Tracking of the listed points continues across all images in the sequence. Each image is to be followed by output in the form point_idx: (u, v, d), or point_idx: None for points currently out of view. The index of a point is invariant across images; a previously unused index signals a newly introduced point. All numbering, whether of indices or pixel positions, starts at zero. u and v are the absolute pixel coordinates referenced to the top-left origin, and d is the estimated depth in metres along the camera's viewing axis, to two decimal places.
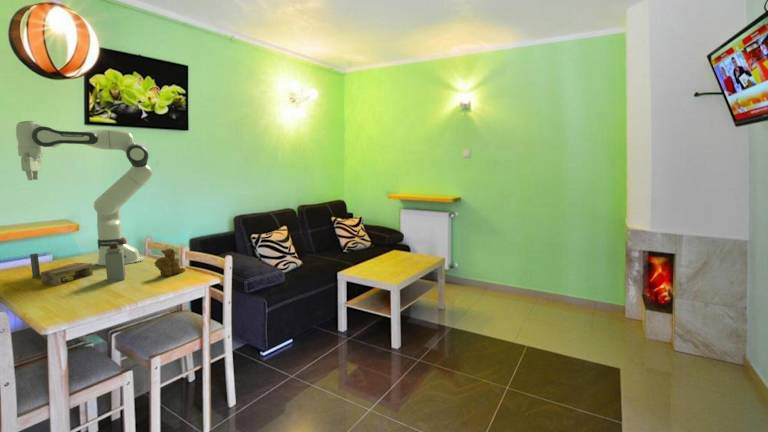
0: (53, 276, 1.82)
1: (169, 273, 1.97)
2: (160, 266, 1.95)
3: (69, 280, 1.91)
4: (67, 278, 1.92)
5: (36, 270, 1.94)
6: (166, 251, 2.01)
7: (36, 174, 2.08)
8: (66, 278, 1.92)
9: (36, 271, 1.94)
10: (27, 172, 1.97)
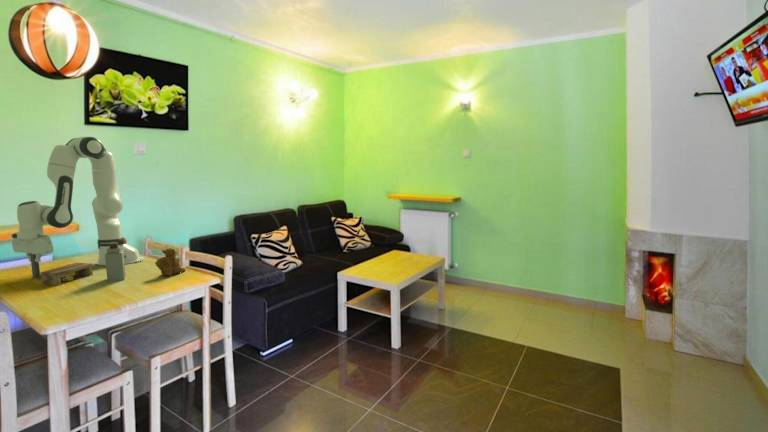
0: (53, 276, 1.82)
1: (170, 273, 1.97)
2: (161, 266, 1.95)
3: (69, 280, 1.90)
4: (67, 278, 1.92)
5: (36, 270, 1.94)
6: (167, 251, 2.01)
7: None
8: (66, 278, 1.92)
9: (36, 271, 1.94)
10: (38, 254, 1.93)
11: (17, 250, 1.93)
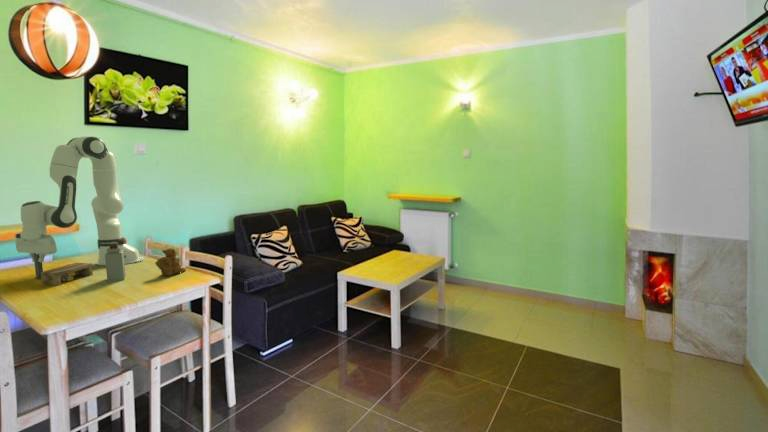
0: (53, 276, 1.82)
1: (170, 273, 1.97)
2: (161, 266, 1.95)
3: (69, 280, 1.90)
4: (67, 278, 1.92)
5: (39, 270, 1.94)
6: (167, 251, 2.01)
7: None
8: (66, 278, 1.92)
9: (39, 271, 1.94)
10: (42, 254, 1.92)
11: (20, 250, 1.93)
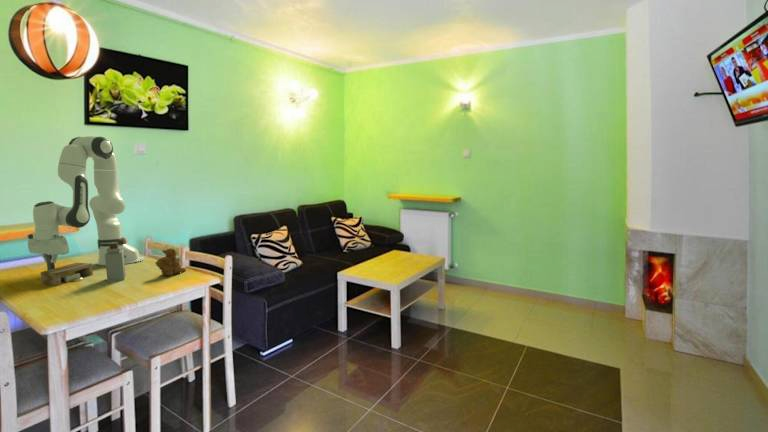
0: (53, 276, 1.82)
1: (170, 273, 1.97)
2: (161, 266, 1.95)
3: (78, 280, 1.90)
4: (76, 278, 1.91)
5: None
6: (167, 251, 2.01)
7: None
8: (75, 278, 1.91)
9: None
10: (54, 255, 1.91)
11: (33, 251, 1.91)
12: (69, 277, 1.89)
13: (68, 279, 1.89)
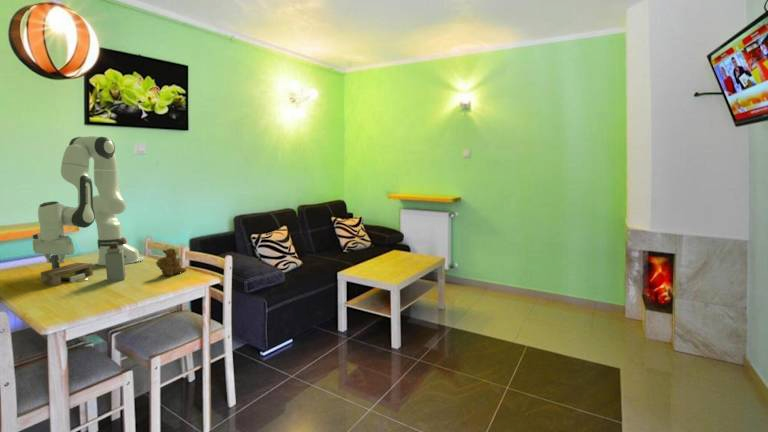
0: (53, 276, 1.82)
1: (171, 273, 1.97)
2: (162, 266, 1.95)
3: (83, 281, 1.89)
4: (81, 279, 1.90)
5: None
6: (167, 251, 2.01)
7: (49, 256, 1.93)
8: (80, 279, 1.90)
9: None
10: (62, 255, 1.90)
11: (38, 251, 1.91)
12: (74, 277, 1.89)
13: (73, 279, 1.88)
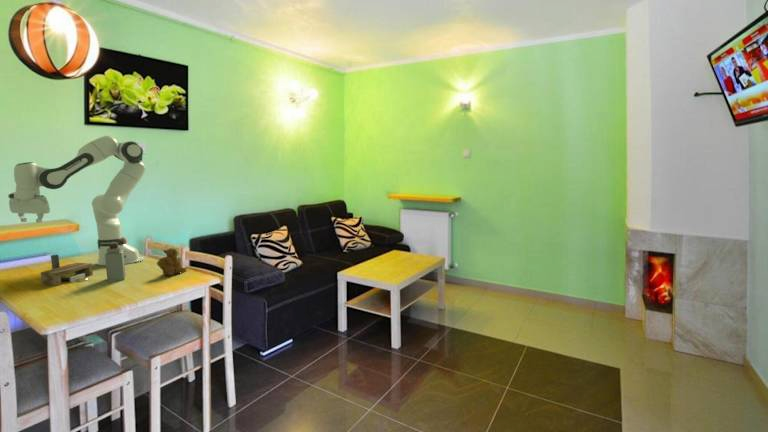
0: (53, 276, 1.82)
1: (172, 273, 1.98)
2: (163, 266, 1.95)
3: (83, 281, 1.89)
4: (81, 279, 1.90)
5: None
6: (168, 251, 2.01)
7: (23, 216, 1.99)
8: (80, 279, 1.90)
9: None
10: (40, 214, 1.95)
11: (14, 210, 1.96)
12: (74, 277, 1.89)
13: (73, 279, 1.88)
